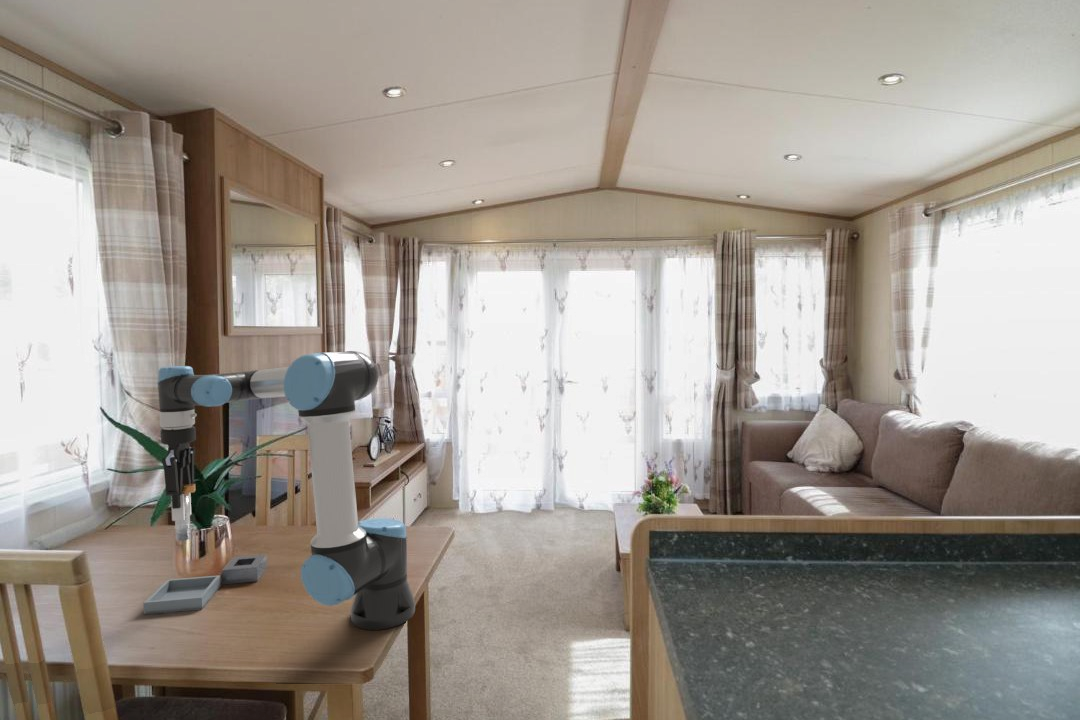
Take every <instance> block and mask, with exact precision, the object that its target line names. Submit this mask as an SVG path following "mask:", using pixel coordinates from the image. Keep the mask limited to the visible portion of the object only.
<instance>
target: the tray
mask: <svg viewBox="0 0 1080 720" xmlns="http://www.w3.org/2000/svg"><path fill="white" fill-rule="evenodd" d="M221 587H222V574H219V575H218V574H217V575H207V576H205V575H204V576H196V577H184V578H172V579H167V580H166V581H165V582H163V583H162V584H161V585H160V586H159V587H158V588H157V589H156V590H155V591H154V592H153V593H152V594H151V595H150V596H149V597H148V598H147V599H146V600H145V601H143V615H156V614H166V613H167V614H169V613H176V612H187V611H198V610H199V611H200V610H203V609H204V608H205V607H206V605H207V604H208V603H209V601H210V600H211V599H212V598H213V596H214V595H215V594H216V593H217V592H218V591H219V589H220V588H221Z"/></svg>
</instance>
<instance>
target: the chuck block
mask: <svg viewBox="0 0 1080 720" xmlns="http://www.w3.org/2000/svg"><path fill="white" fill-rule="evenodd" d="M267 558H268V557H267V554H255V555H241V556H233V557H232V558H230V560H229V561H227V563H226V564H225V566H224V567H223V568H222V569H221V585H231V584H242V583H252V582H259V581H260V579H261V577H262V576H263V575H264V573H265V572H266V570H267V568H268V564H267V562H268V560H267Z"/></svg>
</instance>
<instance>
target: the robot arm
mask: <svg viewBox="0 0 1080 720" xmlns="http://www.w3.org/2000/svg"><path fill="white" fill-rule="evenodd" d="M378 380H379V371H378V367H377V364H376V362H374V359H373V358H371V357H370V356H369V355H368V354H366V353H363V352H360V351H355V350H349V351H331V352H328V351H327V352H314V353H308V354H304V355H300V356H299V357H297V358H296V359H295V360H293V361H292V362H291V365H289V366H286V367H285V366H284V367H275V368H268V369H259V370H258V369H257V370H256V369H255V370H249V371H238V372H229V373H214V374H213V373H212V374H195V373H194V368H193V367H192V366H189V365H171V366H163V367H160V368H159V369H158V381H157V388H158V389H157V390H158V404H159V405H158V406H159V427H161V430H160V442H161V444H162V445H167V446H168V447H167V454H166V455H167V456H166V457H162V460H161V461H162V465H163V472H164V484H165V496H166V497H170V501H171V500H172V501H171V502H170V504H171V521H172V522H175V521H178V520H185V504H184V494H182V485H186V484H195V450H196V447H194V446H191V445H190V443H193V442H194V441H196V440H197V436H196V433H197V432H196V427H195V426H194V425H195V424H196V417H197V416H198V415H197V413H195V411H196V410H195V406H200V407H201V406H202V407H208V408H211V407H220V406H223V405H224V404H227V403H233V402H239V401H240V402H241V401H248V400H249V401H250V400H258V399H259V400H260V399H269V398H283V397H285V398H286V400H287V401H289V405H291V407H293V409H296V410H298V417H299V419H300V420H302V421H303V422H304V423H305V424H306V425H307V426H306V427H307V433H308V434H307V435H308V447H309V457H310V467H311V468H310V469H311V479H312V489H313V491H312V492H313V502H314V513H315V522H316V523H315V525H316V534H315V535H314V536H313V537H312V539H311V540H310V552H311V555H310V556H309V557H307V558H306V559H305V561H304V562H303V564H302V566H301V568H300V577H301V583H302V586H303V587H304V589H305V591H306V592H307V594H308V595H309V596H311V598H312V599H313V600H314V601H316V602H317V603H319V604H321V605H323V606H327V607H332V606H337V605H340V604H341V603H343V602H345V601H349V600H350V599H352V598H353V600H352V603H351V604H352V605H351V607H350V621H351V623H352V624H353V625H354V626H355V627H357V628H360V629H364V630H370V631H377V630H385V629H391V628H395V627H397V626H400V625H402V624H405V623H406V622H407V621H409V620H410V619H411V618H412V617H413V616H414V614H415V611H416V601H415V597H414V595H413V592H412V590H411V589H412V588H411V587H410V583H409V581H408V560H407V559H408V554H407V539H408V535H407V528H406V525H405V524H404V522H402V521H401V520H398V519H394V518H385V517H383V518H381V517H380V518H379V517H377V518H368V519H364V520H361V521H359V520H358V519H359V518H358V508H357V495H356V486H355V483H356V482H355V475H354V474H355V473H354V464H353V463H354V462H353V460H354V459H353V452H352V450H353V449H352V441H351V440H352V438H351V430H350V429H351V428H350V427H351V426H350V421H349V420H350V419H351V417H352V416H353V415H354V414H355V412H356V405H355V404H356V403H355V402H356V401H360V400H362V399H364V398H366V397H368V396H370V395H371V393H372V392H373V391H374V390H375V389H376V387H377V385H378ZM191 495H192V494H191V493H189V510H190V516H192V504H191V503H192V496H191ZM353 596H354V597H353Z"/></svg>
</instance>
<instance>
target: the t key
mask: <svg viewBox="0 0 1080 720" xmlns="http://www.w3.org/2000/svg"><path fill="white" fill-rule="evenodd" d="M196 490H197V489H196V483H194V484H186V485H182V494H184V504H185V520H178V521H174V524H175V525H174V527H175V541H177V542H183V541H187V540H190V539H191V538H192V537H191V515H190V510H189V493H192V494H193V493H195V492H196Z"/></svg>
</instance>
